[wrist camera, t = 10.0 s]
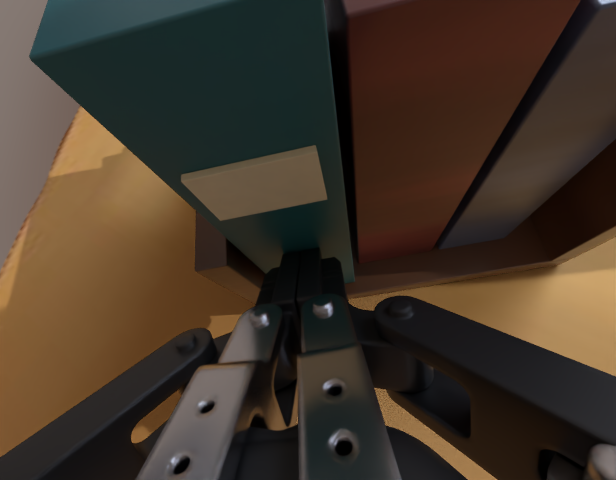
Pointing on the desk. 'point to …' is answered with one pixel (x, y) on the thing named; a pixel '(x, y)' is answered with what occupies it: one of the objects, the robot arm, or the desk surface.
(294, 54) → the book
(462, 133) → the book rack
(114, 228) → the desk surface
